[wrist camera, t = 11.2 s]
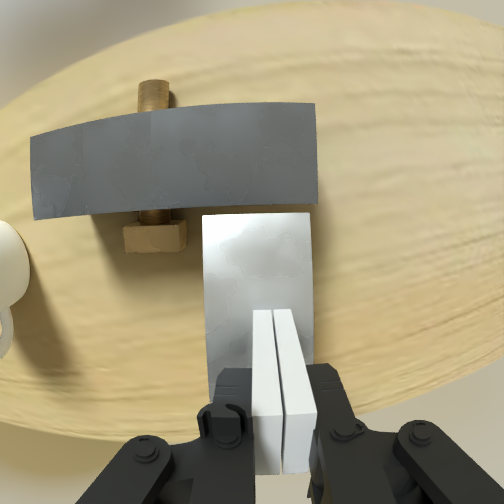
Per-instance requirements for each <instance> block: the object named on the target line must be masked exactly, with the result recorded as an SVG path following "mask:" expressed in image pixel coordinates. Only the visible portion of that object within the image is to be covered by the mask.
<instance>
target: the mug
mask: <svg viewBox="0 0 504 504" xmlns="http://www.w3.org/2000/svg"><path fill="white" fill-rule="evenodd" d="M29 279H30V265H29V259H28V254H27V251H26V248H25V245H24V243H23V241H22V239H21V237H20V236H19V234H18V233H17V231H16V230H15V229H14V228H13V227H12V226H11V225H9V224H8V223H6V222H4V221H0V321H1V325H2V333H1V337H0V359H2V358H3V357H4V356H5V355H6V353H7V352H8V350H9V348H10V346H11V343H12V340H13V334H14V326H13V318H12V314H11V311H10V306H11V305H13V304H14V303H15V302H17V301H18V300H19V299H20V298H22V296H23V295H24V294H25V292H26V290H27V287H28V284H29Z"/></svg>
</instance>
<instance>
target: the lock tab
mask: <svg viewBox="0 0 504 504" xmlns="http://www.w3.org/2000/svg"><path fill="white" fill-rule="evenodd" d="M203 278H204V308H205V331H206V350H207V367H208V382H209V396H210V402H213V397H214V391H215V386H216V380H217V376H218V375H219V374H220V373H221V372H222V370H223V369H224V368H252V361H253V310H271V314H272V323H273V310H276V309H291V312H292V316H293V320H294V324H295V327H296V331H297V335H298V339H299V343H300V346H301V350H302V354H303V358H304V362H305V365H311V364H314V315H313V273H312V247H311V227H310V213H263V214H230V215H205V216H203Z"/></svg>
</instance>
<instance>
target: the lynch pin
mask: <svg viewBox="0 0 504 504" xmlns="http://www.w3.org/2000/svg"><path fill="white" fill-rule="evenodd" d="M161 109H169V82H167V81H165V80H147V81H143V82H141V83H140V84H139V88H138V113H140V112H147V111H154V110H161ZM139 217H140V222H133V223H131V224H129V225H126V226H124V227H123V237H124V247H125V253H153V252H181V251H182V250H183V248H184V247H185V246H186V245H187V233H186V220H171V217H170V209H155V210H140V211H139Z"/></svg>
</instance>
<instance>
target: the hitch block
mask: <svg viewBox="0 0 504 504" xmlns="http://www.w3.org/2000/svg"><path fill="white" fill-rule="evenodd" d="M30 170H31V191H32V205H33V216H34V220H42V219H51V218H60V217H70V216H80V215H91V214H102V213H114V212H127V211H140V210H155V209H171V208H189V207H210V206H235V205H270V204H318V177H317V139H316V115H315V103H282V102H264V103H230V104H213V105H199V106H188V107H178V108H169V109H161V110H154V111H147V112H140V113H134V114H127V115H122V116H116V117H111V118H106V119H101V120H96V121H91V122H86V123H82V124H78V125H73V126H69V127H65V128H61V129H58V130H54V131H50V132H47V133H43V134H40V135H36V136H33V137H30Z"/></svg>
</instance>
